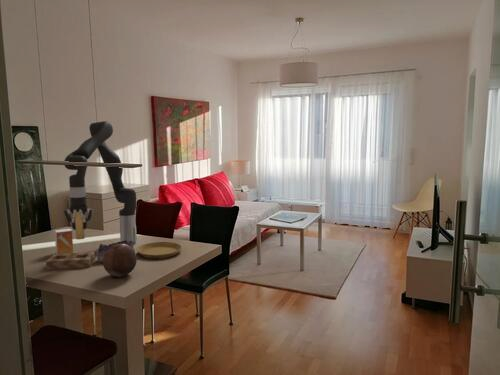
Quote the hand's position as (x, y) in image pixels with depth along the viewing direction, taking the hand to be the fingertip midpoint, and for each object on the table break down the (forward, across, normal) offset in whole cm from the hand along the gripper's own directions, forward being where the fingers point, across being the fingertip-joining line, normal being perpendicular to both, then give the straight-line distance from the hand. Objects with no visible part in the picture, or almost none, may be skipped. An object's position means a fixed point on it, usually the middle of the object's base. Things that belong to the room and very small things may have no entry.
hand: (79, 229), depth 198 cm
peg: (+5, 0, 0) cm, 5 cm away
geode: (+18, -16, -7) cm, 25 cm away
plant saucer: (+18, -38, -12) cm, 44 cm away
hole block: (+18, +5, 0) cm, 19 cm away
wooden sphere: (+18, -22, +21) cm, 36 cm away
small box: (+18, +14, -21) cm, 31 cm away
